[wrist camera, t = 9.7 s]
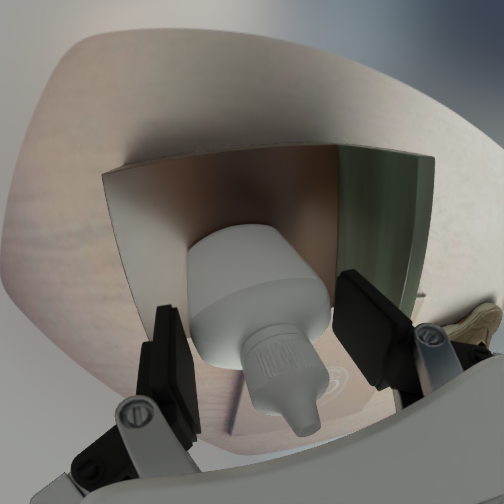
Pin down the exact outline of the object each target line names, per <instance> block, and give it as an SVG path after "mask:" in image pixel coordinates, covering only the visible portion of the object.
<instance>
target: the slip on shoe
mask: <svg viewBox="0 0 504 504" xmlns="http://www.w3.org/2000/svg"><path fill="white" fill-rule="evenodd" d="M501 320H502V310H501V308H500V307H499V306H497V305H495V304H493V303H487V302H486V303H483V304H481V305H479V306H478V307H476V308H475V309H474V310H473V311H472V312H471V313H469V314H468V315H467V316H466V317H465V318H464V319H462V320H461V321H460V322H458V323H457V324H455V325H447V326H444V327H441V328H443V329H444V331H445V332H446V333H447V335H448V338H449V340H451V341H457V342H463V343H469V344H475V345H480V346H483V347H485V348H487V349H488V348H489V344H490V340H491V338H492V335H493V334H494V333H495V332H496V330H497V329H498V327H499V325H500V323H501ZM488 350H489V349H488Z"/></svg>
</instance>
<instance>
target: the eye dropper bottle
mask: <svg viewBox="0 0 504 504" xmlns="http://www.w3.org/2000/svg"><path fill="white" fill-rule="evenodd" d="M186 275H187V308H188V323H189V331H190V336H191V338H192V341H193V343H194V345H195V347H196V349H197V351H198V353H199V355H200V356H201V358H202V359H203V360H204V361H205V362H206V363H208V364H209V365H212V366H215V367H219V368H225V369H235V370H243V373H244V376H245V380H246V384H247V387H248V391H249V394H250V398H251V401H252V404H253V406H254V407H255V408H256V409H257V410H258V411H260V412H262V413H264V414H268V415H283V417H284V418H285V419H286V421H287V422H288V424H289V425H290V427H291V428H292V430H293V431H294V433H295V434H296V435H297V436H298V437H306V436H309V435H311V434H314V433H315V432H317V431H318V430H319V429H320V428H321V423H320V419H319V414H318V410H317V405H316V401H317V400H318V399H319V398H320V397H321V396H322V395H323V394H324V392H325V391H326V389H327V387H328V384H329V380H330V379H329V378H330V377H329V373H328V371H327V369H326V368H325V366H324V364H323V363H322V361H321V359H320V357H319V356H318V354H317V352H316V351H315V349H314V347H313V345H312V344H313V343H314V342H315V341H316V340H317V339H318V338H319V337H320V336H321V335H322V334H323V333H324V332H325V330H326V329H327V328H328V326H329V323H330V320H331V304H330V296H329V292H328V290H327V288H326V286H325V284H324V283H323V281H322V280H321V279H320V278H319V276H318V275H317V274H316V273H315V272H314V270H313V269H312V268H311V267H310V266H309V265H308V264H307V262H306V261H305V260H304V259H303V258H302V257H301V256H300V255H299V253H298V252H297V251H296V250H295V249H294V248H293V247H292V246H291V245H290V244H289V242H288V241H287V240H286V239H285V238H284V237H283V236H282V235H281V234H280V233H279V232H278V231H277V230H276V229H275V228H273V227H271V226H268V225H261V224H244V225H236V226H232V227H228V228H224V229H222V230H219V231H217V232H214V233H212V234H210V235H208V236H207V237H205V238H203V239H202V240H200V241H199V242H198V243H196V244H195V245H194V246H193V247H192V248H190V250H189V251H188V253H187V255H186Z"/></svg>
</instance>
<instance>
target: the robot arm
mask: <svg viewBox="0 0 504 504" xmlns="http://www.w3.org/2000/svg"><path fill="white" fill-rule="evenodd" d="M332 329H333V332H334V334H335V335H336V337H337V338H338V340H339V341H340V342H341V344H342V345H343V347H344V348H345V350H346V351H347V352H348V354H349V355H350V357H351V358H352V359H353V361H354V362H355V364H356V365H357V367H358V368H359V369H360V371H361V372H362V374H363V375H364V377H365V378H366V379H367V381H368V382H369V384H370V385H371V386H375V387H376V389H377V390H378V391H381V390H383V389H385V388H387V387H389V386H390V387H391V389H393V396H394V401H395V407H396V413H395V414H393V415H391V416H389V417H387V418H385V419H383V420H381V421H379V422H377V423H375V424H372V425H370V426H368V427H366V428H363V429H361V430H359V431H356V432H354V433H352V434H349V435H347V436H344V437H342V438H339V439H336V440H334V441H331V442H328V443H326V444H323V445H320V446H317V447H314V448H311V449H308V450H304V451H302V452H298V453H295V454H291V455H288V456H284V457H280V458H276V459H273V460H269V461H264V462H260V463H255V464H250V465H245V466H240V467H234V468H228V469H222V470H215V471H208V472H201V470H200V469H199V467H198V466H197V464H196V463H195V462H194V460H193V459H192V457H191V456H190V454H189V453H188V450H189V449H190V448H191V447H192V446H193V444H192V442H197V436H196V434H200V433H201V426H200V418H199V410H198V401H197V392H196V382H195V371H194V362H193V357H192V354H191V351H190V348H189V345H188V341H187V338H186V335H185V331H184V328H183V325H182V321H181V318H180V314H179V311H178V308H177V307H172V305H171V304H168V305H161V306H157V308H156V315H155V323H154V332H153V341H148V342H143V343H142V348H141V355H140V363H139V371H138V380H137V389H136V395H134V396H130V397H128V398H126V399H124V400H123V401H122V402H121V403H120V404H119V405H118V407H117V408H116V411H115V421H116V425H115V426H113V427H112V428H111V429H110V430H108V431H107V432H106V433H105V434H104V435H103V436H101V437H100V438H99V439H97V440H96V441H95V442H94V443H92V444H91V445H90V446H89V447H87V448H86V449H85V450H83V451H82V452H81V453H80V454H78V455H77V456H76V457H75V458H74V460H73V462H72V464H71V472H70V473H69V474H66V473H65V472H64V473H63V474H62V475H61V476H59V477H58V478H56V479H55V480H54V481H52V482H51V483H50V484H49V485H47V486H46V487H44V488H43V489H42V490H40V491H39V492H38V493H36V494H35V495H34V496H33V497H32V498H31V500H30V504H504V354H500V353H493V354H492V353H491V352H490V351H489V350H488V349H487V348H485V347H483V346H480V345H475V344H469V343H463V342H457V341H451V340H449V338H448V335H447V333H446V332H445V331H444V329H443V328H441V327H440V326H438V325H436V324H433V323H421V324H419V325H417V326H416V327H414V326H412V321H411V320H410V319H409V318H408V317H407V316H406V315H405V314H404V313H403V312H402V311H401V310H400V309H399V308H398V307H396V306H395V305H394V304H393V303H392V302H391V301H390V300H389V299H388V298H387V297H386V296H384V295H383V294H382V293H381V292H380V291H379V290H378V289H377V288H376V287H374V286H373V285H372V284H371V283H370V282H369V281H368V280H367V279H365V278H364V277H363V276H362V275H361V274H360V273H359V272H357V271H356V270H355V269H350V270H346V271H342V272H341V273H340V275H339V276H337V279H336V291H335V303H334V313H333V323H332Z"/></svg>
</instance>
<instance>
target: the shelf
mask: <svg viewBox="0 0 504 504" xmlns="http://www.w3.org/2000/svg"><path fill="white" fill-rule="evenodd" d="M434 174H435V158H434V157H432V156H427V155H422V154H417V153H411V152H405V151H399V150H393V149H386V148H379V147H371V146H363V145H354V144H344V143H333V142H320V141H318V142H290V143H274V144H260V145H249V146H239V147H229V148H221V149H213V150H206V151H199V152H192V153H185V154H179V155H173V156H168V157H162V158H157V159H152V160H147V161H142V162H137V163H133V164H128V165H124V166H121V167H118V168H116V169H113V170H111V171H109V172H106V173H104V174H102V180H103V185H104V191H105V196H106V201H107V205H108V210H109V214H110V219H111V223H112V227H113V231H114V235H115V239H116V243H117V247H118V250H119V254H120V257H121V261H122V264H123V268H124V271H125V274H126V278H127V281H128V284H129V287H130V290H131V293H132V296H133V299H134V302H135V305H136V308H137V310H138V313H139V316H140V319H141V321H142V324H143V327H144V329H145V332H146V334H147V337H148V339H149V341H153V332H154V323H155V315H156V308H157V306H161V305H168V304H171V305H172V307H177V308H178V311H179V314H180V318H181V321H182V325H183V328H184V331H185V335H186V338H190V337H191V336H190V331H189V323H188V308H187V275H186V255H187V253H188V251H189V250H190V248H192V247H193V246H194V245H195V244H196V243H198V242H199V241H200V240H202V239H203V238H205V237H207V236H208V235H210V234H212V233H214V232H217V231H219V230H222V229H224V228H228V227H232V226H236V225H244V224H261V225H268V226H271V227H273V228H275V229H276V230H277V231H278V232H279V233H280V234H281V235H282V236H283V237H284V238H285V239H286V240H287V241H288V242H289V244H290V245H291V246H292V247H293V248H294V249H295V250H296V251H297V252H298V253H299V255H300V256H301V257H302V258H303V259H304V260H305V261H306V262H307V264H308V265H309V266H310V267H311V268H312V269H313V270H314V272H315V273H316V274H317V275H318V276H319V278H320V279H321V280H322V281H323V283H324V284H325V286H326V288H327V290H328V292H329V296H330V304H331V308H332V307H334V303H335V291H336V279H337V276H339V275H340V273H341V272H342V271H346V270H350V269H355V270H356V271H357V272H359V273H360V274H361V275H362V276H363V277H364V278H365V279H367V280H368V281H369V282H370V283H371V284H372V285H373V286H374V287H376V288H377V289H378V290H379V291H380V292H381V293H382V294H383V295H384V296H386V297H387V298H388V299H389V300H390V301H391V302H392V303H393V304H394V305H395V306H396V307H398V308H399V309H400V310H401V311H402V312H403V313H404V314H405V315H406V316H407V317H408V318H409V319H410V318H411V314H412V311H413V307H414V303H415V300H416V296H417V291H418V287H419V283H420V278H421V274H422V269H423V264H424V259H425V253H426V248H427V242H428V235H429V228H430V220H431V212H432V202H433V190H434Z"/></svg>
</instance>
